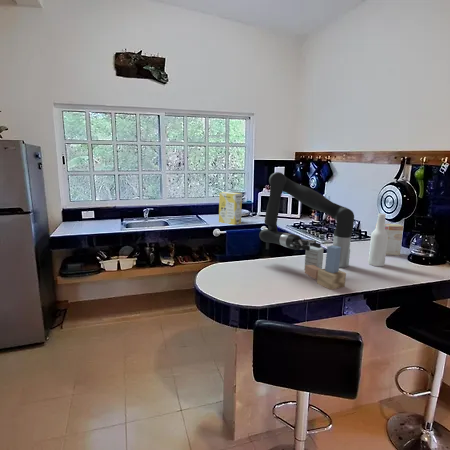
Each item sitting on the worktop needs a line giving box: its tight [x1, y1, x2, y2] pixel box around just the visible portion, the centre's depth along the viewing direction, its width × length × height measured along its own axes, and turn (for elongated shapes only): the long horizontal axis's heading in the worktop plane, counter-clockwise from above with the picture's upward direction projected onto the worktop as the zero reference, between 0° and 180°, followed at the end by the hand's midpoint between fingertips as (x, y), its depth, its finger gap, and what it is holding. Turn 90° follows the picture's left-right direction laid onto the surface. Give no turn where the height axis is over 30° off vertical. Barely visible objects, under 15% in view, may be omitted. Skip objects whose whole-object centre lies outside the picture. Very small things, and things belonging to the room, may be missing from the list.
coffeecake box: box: [374, 223, 404, 257], centre depth 217 cm, size 15×7×20 cm, turn 84°
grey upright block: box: [303, 246, 325, 271], centre depth 180 cm, size 7×7×13 cm
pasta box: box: [218, 191, 243, 226], centre depth 310 cm, size 18×10×28 cm, turn 53°
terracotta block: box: [304, 265, 320, 280], centre depth 172 cm, size 10×4×4 cm, turn 18°
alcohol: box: [367, 212, 388, 268], centre depth 192 cm, size 9×9×30 cm
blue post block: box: [324, 244, 341, 273], centre depth 158 cm, size 4×4×12 cm
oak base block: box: [316, 268, 347, 291], centre depth 159 cm, size 9×9×7 cm
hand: (314, 247), depth 165 cm, fingers open, 8 cm apart
